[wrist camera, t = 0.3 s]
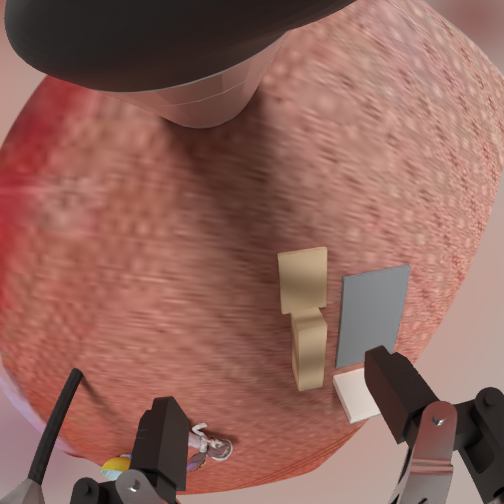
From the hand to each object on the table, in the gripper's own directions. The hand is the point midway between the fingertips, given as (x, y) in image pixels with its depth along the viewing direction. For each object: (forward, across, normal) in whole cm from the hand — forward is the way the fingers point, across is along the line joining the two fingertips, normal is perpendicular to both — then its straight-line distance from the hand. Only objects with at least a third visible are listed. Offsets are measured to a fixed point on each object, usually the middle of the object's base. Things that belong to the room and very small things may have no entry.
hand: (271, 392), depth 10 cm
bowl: (+20, +36, +40) cm, 58 cm away
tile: (+19, -11, +23) cm, 32 cm away
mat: (+18, -13, +13) cm, 26 cm away
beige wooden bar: (+18, -5, +10) cm, 21 cm away
